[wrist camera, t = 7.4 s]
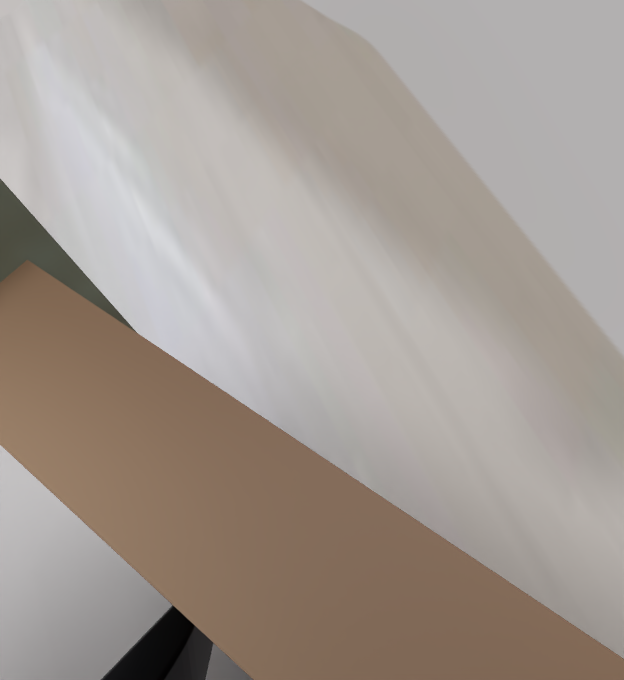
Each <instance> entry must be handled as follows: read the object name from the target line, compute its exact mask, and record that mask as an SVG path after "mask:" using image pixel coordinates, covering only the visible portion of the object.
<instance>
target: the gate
mask: <svg viewBox="0 0 624 680" xmlns="http://www.w3.org/2000/svg"><path fill="white" fill-rule="evenodd" d="M0 445H1V446H2V447H3V448H4V449H6V450H7V451H8V452H9V453H10V454H11V455H12V456H13V457H14V458H15V459H16V460H17V461H18V462H20V463H21V464H22V465H23V466H24V467H25V468H26V469H27V470H28V471H29V472H30V473H31V474H32V475H33V476H35V477H36V478H37V479H38V480H39V481H40V482H41V483H42V484H43V485H44V486H45V487H46V488H47V489H49V490H50V491H51V492H52V493H53V494H54V495H55V496H56V497H57V498H58V499H59V500H60V501H61V502H63V503H64V504H65V505H66V506H67V507H68V508H69V509H70V510H71V511H72V512H73V513H74V514H75V515H77V516H78V517H79V518H80V519H81V520H82V521H83V522H84V523H85V524H86V525H87V526H88V527H89V528H91V529H92V530H93V531H94V532H95V533H96V534H97V535H98V536H99V537H100V538H101V539H102V540H103V541H105V542H106V543H107V544H108V545H109V546H110V547H111V548H112V549H113V550H114V551H115V552H116V553H117V554H119V555H120V556H121V557H122V558H123V559H124V560H125V561H126V562H127V563H128V564H129V565H130V566H131V567H133V568H134V569H135V570H136V571H137V572H138V573H139V574H140V575H141V576H142V577H143V578H144V579H145V580H147V581H148V582H149V583H150V584H151V585H152V586H153V587H154V588H155V589H156V590H157V591H158V592H159V593H160V594H162V595H163V596H164V597H165V598H166V599H167V600H168V601H169V602H170V603H171V604H172V605H173V606H174V607H176V608H177V609H178V610H179V611H180V612H181V613H182V614H183V615H184V616H185V617H186V618H187V619H188V620H190V621H191V622H192V623H193V624H194V625H195V626H196V627H197V628H198V629H199V630H200V631H201V632H202V633H204V634H205V635H206V636H207V637H208V638H209V639H210V640H211V641H212V642H213V643H214V644H215V645H216V646H218V647H219V648H220V649H221V650H222V651H223V652H224V653H225V654H226V655H227V656H228V657H229V658H230V659H232V660H233V661H234V662H235V663H236V664H237V665H238V666H239V667H240V668H241V669H242V670H243V671H244V672H246V673H247V674H248V675H249V676H250V677H251V678H252V679H253V680H624V659H623V658H622V657H620V656H619V655H617V654H616V653H614V652H613V651H611V650H610V649H608V648H607V647H605V646H604V645H602V644H601V643H599V642H598V641H596V640H595V639H593V638H592V637H590V636H589V635H587V634H586V633H584V632H583V631H581V630H580V629H578V628H577V627H575V626H574V625H572V624H571V623H569V622H568V621H566V620H565V619H563V618H562V617H560V616H559V615H557V614H556V613H554V612H553V611H551V610H550V609H548V608H547V607H545V606H544V605H542V604H541V603H540V602H538V601H537V600H535V599H534V598H532V597H531V596H529V595H528V594H526V593H525V592H523V591H522V590H520V589H519V588H517V587H516V586H514V585H513V584H511V583H510V582H508V581H507V580H505V579H504V578H502V577H501V576H499V575H498V574H496V573H495V572H493V571H492V570H490V569H489V568H487V567H486V566H484V565H483V564H481V563H480V562H478V561H477V560H475V559H474V558H472V557H471V556H469V555H468V554H466V553H465V552H463V551H462V550H460V549H459V548H457V547H456V546H454V545H453V544H451V543H450V542H448V541H447V540H445V539H444V538H442V537H441V536H439V535H438V534H436V533H435V532H433V531H432V530H430V529H429V528H427V527H426V526H424V525H423V524H421V523H420V522H419V521H417V520H416V519H414V518H413V517H411V516H410V515H408V514H407V513H405V512H404V511H402V510H401V509H399V508H398V507H396V506H395V505H393V504H392V503H390V502H389V501H387V500H386V499H384V498H383V497H381V496H380V495H378V494H377V493H375V492H374V491H372V490H371V489H369V488H368V487H366V486H365V485H363V484H362V483H360V482H359V481H357V480H356V479H354V478H353V477H351V476H350V475H348V474H347V473H345V472H344V471H342V470H341V469H339V468H338V467H336V466H335V465H333V464H332V463H330V462H329V461H327V460H326V459H324V458H323V457H321V456H320V455H318V454H317V453H315V452H314V451H312V450H311V449H309V448H308V447H306V446H305V445H303V444H302V443H300V442H299V441H298V440H296V439H295V438H293V437H292V436H290V435H289V434H287V433H286V432H284V431H283V430H281V429H280V428H278V427H277V426H275V425H274V424H272V423H271V422H269V421H268V420H266V419H265V418H263V417H262V416H260V415H259V414H257V413H256V412H254V411H253V410H251V409H250V408H248V407H247V406H245V405H244V404H242V403H241V402H239V401H238V400H236V399H235V398H233V397H232V396H230V395H229V394H227V393H226V392H224V391H223V390H221V389H220V388H218V387H217V386H215V385H214V384H212V383H211V382H209V381H208V380H206V379H205V378H203V377H202V376H200V375H199V374H197V373H196V372H194V371H193V370H191V369H190V368H188V367H187V366H185V365H184V364H182V363H181V362H179V361H178V360H177V359H175V358H174V357H172V356H171V355H169V354H168V353H166V352H165V351H163V350H162V349H160V348H159V347H157V346H156V345H154V344H153V343H151V342H150V341H148V340H147V339H145V338H144V337H142V336H141V335H139V334H138V333H137V332H136V331H135V330H134V329H133V328H132V327H131V326H130V324H129V323H128V322H127V321H126V320H125V319H124V318H123V317H122V315H121V314H120V313H119V312H118V311H117V310H116V309H115V308H114V306H113V305H112V304H111V303H110V302H109V301H108V300H107V299H106V297H105V296H104V295H103V294H102V293H101V292H100V291H99V289H98V288H97V287H96V286H95V285H94V284H93V283H92V282H91V280H90V279H89V278H88V277H87V276H86V275H85V274H84V273H83V271H82V270H81V269H80V268H79V267H78V266H77V265H76V264H75V262H74V261H73V260H72V259H71V258H70V257H69V256H68V254H67V253H66V252H65V251H64V250H63V249H62V248H61V247H60V245H59V244H58V243H57V242H56V241H55V240H54V239H53V238H52V236H51V235H50V234H49V233H48V232H47V231H46V230H45V229H44V227H43V226H42V225H41V224H40V223H39V222H38V221H37V220H36V218H35V217H34V216H33V215H32V214H31V213H30V212H29V210H28V209H27V208H26V207H25V206H24V205H23V204H22V203H21V201H20V200H19V199H18V198H17V197H16V196H15V195H14V194H13V192H12V191H11V190H10V189H9V188H8V187H7V186H6V185H5V183H4V182H3V181H2V180H1V179H0Z"/></svg>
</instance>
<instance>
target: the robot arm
mask: <svg viewBox="0 0 624 680" xmlns="http://www.w3.org/2000/svg"><path fill="white" fill-rule="evenodd" d="M212 646H213V642H212V641H211V640H210V639H209V638H208V637H207V636H206V635H205V634H204V633H202V632H201V631H200V630H199V629H198V628H197V627H196V626H195V625H194V624H193V623H192V622H191V621H190V620H188V619H187V618H186V617H185V616H184V615H183V614H182V613H181V612H180V611H179V610H178V609H177V608H176V607H174V606H172V607H171V608H170V609H169V610H168V611H167V612H166V613H165V614H164V615H163V616H162V617H161V618H160V619H159V620H158V621H157V622H156V623H155V624H154V625H153V626H152V627H151V628H150V630H149V631H148V632H147V633H146V634H145V635H144V636H143V637H142V638H141V639H140V640H139V641H138V642H137V643H136V644H135V645H134V646H133V647H132V648H131V649H130V650H129V651H128V652H127V653H126V654H125V655H124V656H123V657H122V658H121V660H120V661H119V662H118V663H117V664H116V665H115V666H114V667H113V668H112V669H111V670H110V671H109V672H108V673H107V674H106V675H105V676H104V677H103V678H102V679H101V680H205V679H206V674H207V669H208V665H209V660H210V655H211V651H212Z"/></svg>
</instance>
